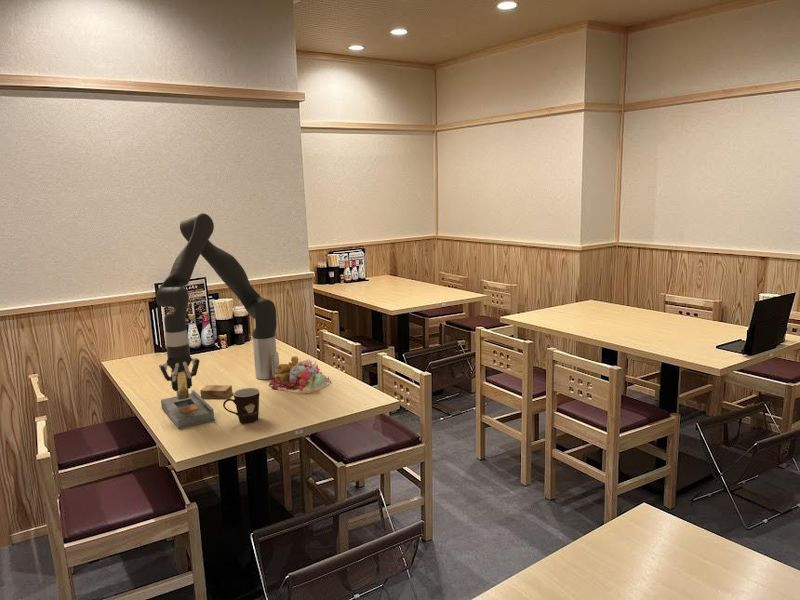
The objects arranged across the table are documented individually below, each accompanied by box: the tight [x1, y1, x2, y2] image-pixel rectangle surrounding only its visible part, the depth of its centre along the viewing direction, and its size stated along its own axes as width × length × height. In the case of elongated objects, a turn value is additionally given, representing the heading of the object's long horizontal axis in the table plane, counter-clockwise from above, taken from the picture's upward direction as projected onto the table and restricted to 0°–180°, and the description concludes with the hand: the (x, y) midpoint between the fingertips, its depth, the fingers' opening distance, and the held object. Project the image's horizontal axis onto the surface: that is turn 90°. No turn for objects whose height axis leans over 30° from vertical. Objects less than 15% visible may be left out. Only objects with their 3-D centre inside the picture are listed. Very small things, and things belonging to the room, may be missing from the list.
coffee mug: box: [222, 387, 260, 425], centre depth 205 cm, size 12×9×10 cm
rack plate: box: [160, 389, 215, 430], centre depth 213 cm, size 24×12×4 cm, turn 34°
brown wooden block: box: [200, 384, 233, 399], centre depth 231 cm, size 10×6×3 cm, turn 83°
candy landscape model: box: [268, 355, 331, 395], centre depth 242 cm, size 25×24×9 cm
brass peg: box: [176, 370, 190, 400], centre depth 214 cm, size 4×4×10 cm
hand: (182, 389), depth 215 cm, fingers closed on brass peg, 4 cm apart
